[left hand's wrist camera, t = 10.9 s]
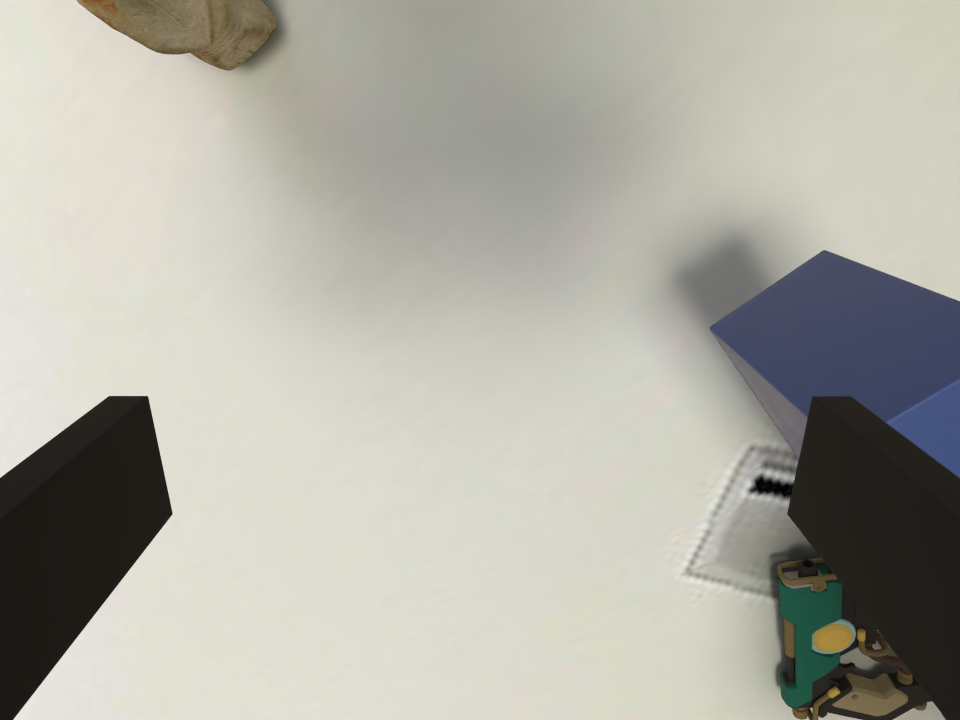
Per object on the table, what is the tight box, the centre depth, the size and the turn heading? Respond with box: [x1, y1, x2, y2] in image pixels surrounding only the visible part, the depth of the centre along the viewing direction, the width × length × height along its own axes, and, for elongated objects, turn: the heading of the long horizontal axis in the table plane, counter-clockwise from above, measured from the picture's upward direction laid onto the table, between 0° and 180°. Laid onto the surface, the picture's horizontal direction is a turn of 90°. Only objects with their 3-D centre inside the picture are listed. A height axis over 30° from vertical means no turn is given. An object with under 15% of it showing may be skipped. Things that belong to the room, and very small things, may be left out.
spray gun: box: [777, 558, 932, 720], centre depth 48 cm, size 4×17×15 cm
